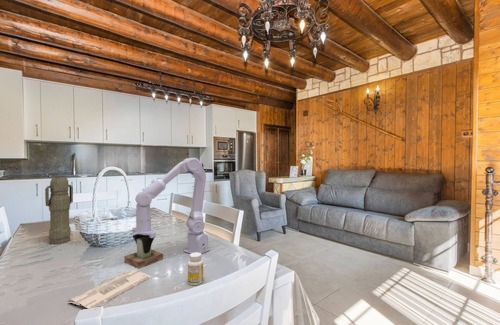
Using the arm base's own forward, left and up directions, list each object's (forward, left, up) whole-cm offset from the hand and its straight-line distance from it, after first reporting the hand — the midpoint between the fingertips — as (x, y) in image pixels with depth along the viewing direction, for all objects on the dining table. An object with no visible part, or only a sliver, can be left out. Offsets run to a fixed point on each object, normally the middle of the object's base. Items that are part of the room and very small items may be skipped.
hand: (143, 251), depth 102 cm
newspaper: (-12, +19, -5) cm, 23 cm away
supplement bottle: (-32, 0, -4) cm, 32 cm away
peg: (0, 0, -2) cm, 2 cm away
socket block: (0, 0, -4) cm, 4 cm away
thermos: (+61, +11, -4) cm, 62 cm away
